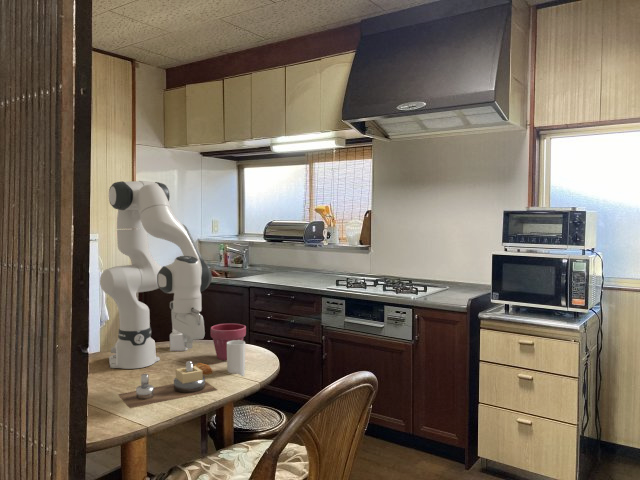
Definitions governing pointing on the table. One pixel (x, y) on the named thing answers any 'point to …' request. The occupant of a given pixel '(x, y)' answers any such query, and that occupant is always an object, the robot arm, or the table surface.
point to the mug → (236, 357)
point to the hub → (190, 386)
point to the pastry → (204, 368)
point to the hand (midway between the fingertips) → (188, 347)
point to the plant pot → (226, 337)
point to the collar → (189, 375)
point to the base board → (160, 395)
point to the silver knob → (144, 389)
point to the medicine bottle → (176, 341)
